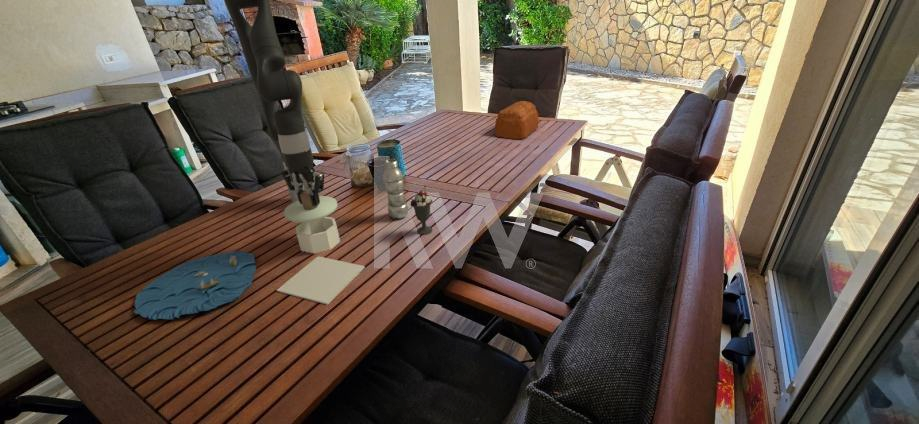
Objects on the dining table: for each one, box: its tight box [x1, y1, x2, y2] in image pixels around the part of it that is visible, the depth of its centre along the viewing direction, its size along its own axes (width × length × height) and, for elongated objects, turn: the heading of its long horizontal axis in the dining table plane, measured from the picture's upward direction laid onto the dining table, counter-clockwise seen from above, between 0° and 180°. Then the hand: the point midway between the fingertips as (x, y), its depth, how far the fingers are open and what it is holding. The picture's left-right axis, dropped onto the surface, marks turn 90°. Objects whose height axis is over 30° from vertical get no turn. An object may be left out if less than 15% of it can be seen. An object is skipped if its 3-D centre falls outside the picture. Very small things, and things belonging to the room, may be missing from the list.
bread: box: [494, 100, 539, 140], centre depth 210 cm, size 17×24×15 cm
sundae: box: [410, 185, 433, 235], centre depth 122 cm, size 7×7×15 cm
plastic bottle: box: [382, 158, 409, 220], centre depth 130 cm, size 6×7×20 cm
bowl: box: [295, 216, 341, 254], centre depth 121 cm, size 11×12×6 cm
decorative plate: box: [133, 250, 257, 321], centre depth 105 cm, size 30×30×5 cm
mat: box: [276, 255, 366, 306], centre depth 105 cm, size 16×16×1 cm
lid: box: [283, 190, 339, 223], centre depth 116 cm, size 15×15×6 cm
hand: (310, 204), depth 116 cm, fingers closed on lid, 4 cm apart
